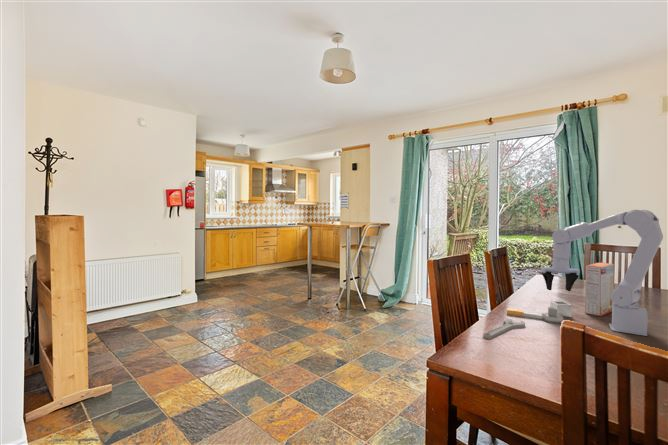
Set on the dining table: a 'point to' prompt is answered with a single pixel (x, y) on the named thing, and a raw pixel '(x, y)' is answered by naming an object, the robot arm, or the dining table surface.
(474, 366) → the dining table surface
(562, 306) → the socket
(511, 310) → the ratchet
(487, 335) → the adjustable wrench
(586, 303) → the cracker box
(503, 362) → the dining table surface
